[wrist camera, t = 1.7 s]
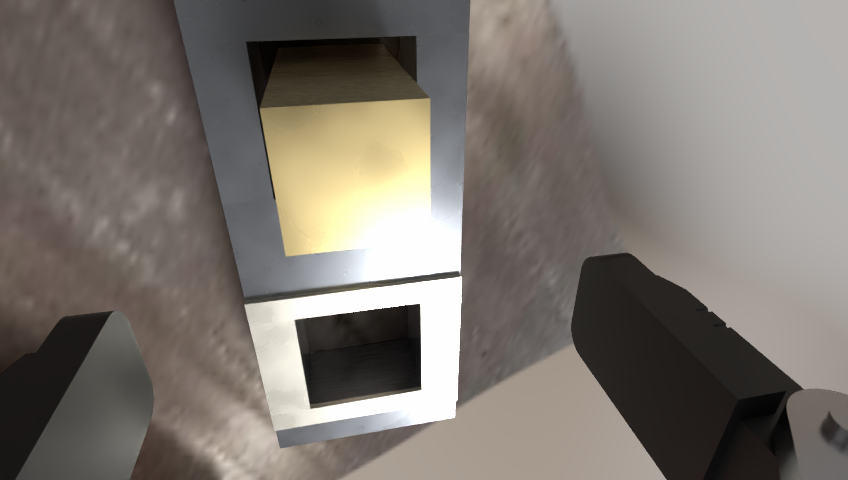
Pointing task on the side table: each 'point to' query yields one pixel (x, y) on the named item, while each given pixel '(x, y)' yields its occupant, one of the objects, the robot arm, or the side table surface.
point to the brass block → (347, 149)
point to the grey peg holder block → (346, 269)
